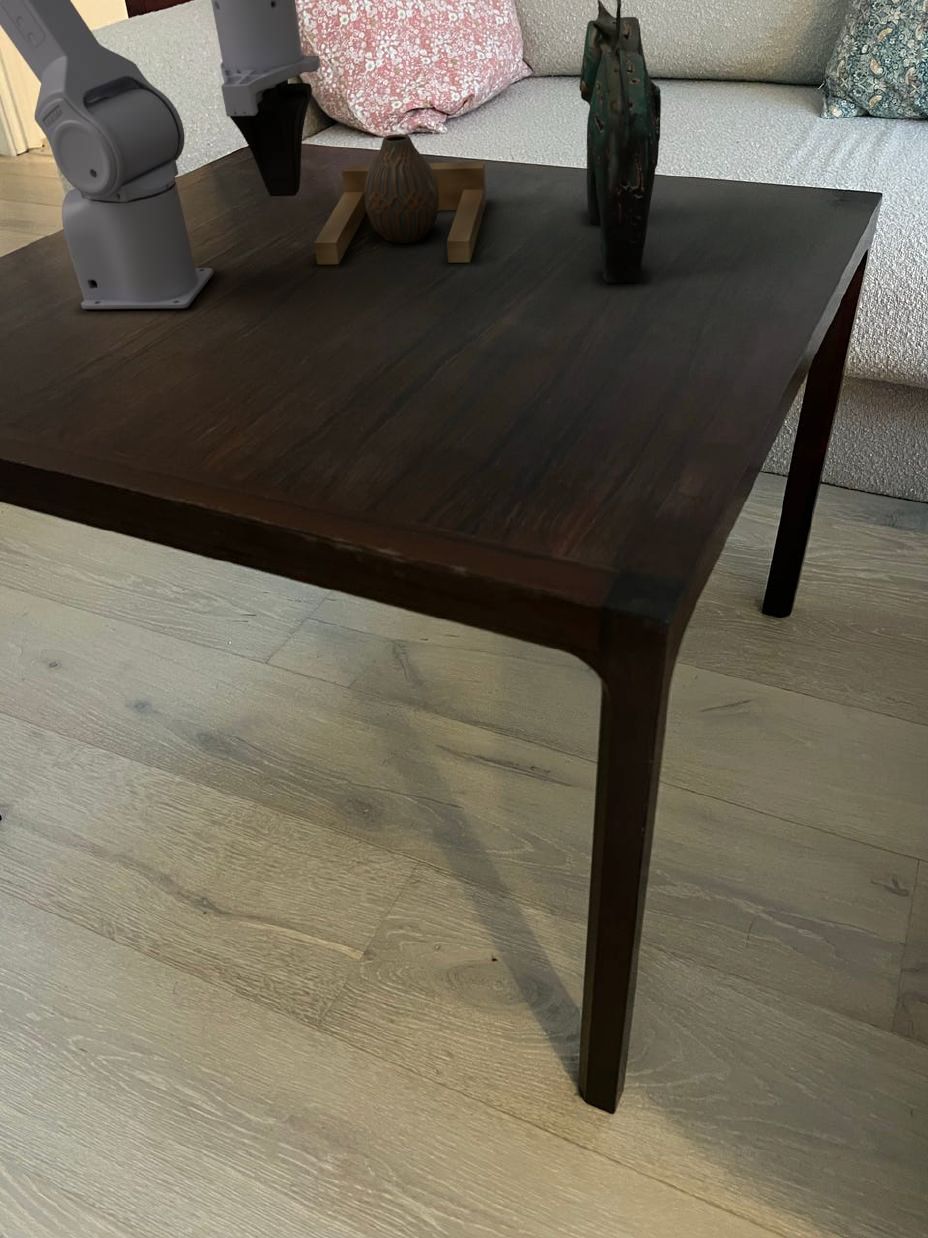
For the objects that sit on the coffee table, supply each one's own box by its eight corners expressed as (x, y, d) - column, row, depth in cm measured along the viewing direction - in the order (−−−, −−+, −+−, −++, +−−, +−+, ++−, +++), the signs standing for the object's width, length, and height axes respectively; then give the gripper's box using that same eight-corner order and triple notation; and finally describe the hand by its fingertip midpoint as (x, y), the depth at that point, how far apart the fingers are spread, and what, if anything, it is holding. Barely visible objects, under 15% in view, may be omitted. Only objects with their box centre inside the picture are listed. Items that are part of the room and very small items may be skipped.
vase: (414, 253, 93) (406, 152, 87) (354, 242, 96) (342, 143, 90) (455, 228, 97) (449, 130, 92) (396, 219, 100) (387, 123, 95)
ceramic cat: (575, 209, 100) (579, -30, 87) (641, 206, 100) (655, -34, 87) (587, 288, 85) (593, 14, 72) (665, 285, 84) (686, 8, 72)
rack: (317, 264, 92) (310, 219, 90) (350, 205, 104) (345, 164, 102) (470, 262, 91) (468, 217, 88) (486, 203, 103) (484, 161, 100)
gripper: (282, 5, 64) (314, 224, 72) (330, -31, 75) (352, 163, 83) (175, 10, 65) (219, 226, 73) (237, -27, 76) (269, 165, 84)
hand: (284, 193), depth 78 cm, fingers closed
